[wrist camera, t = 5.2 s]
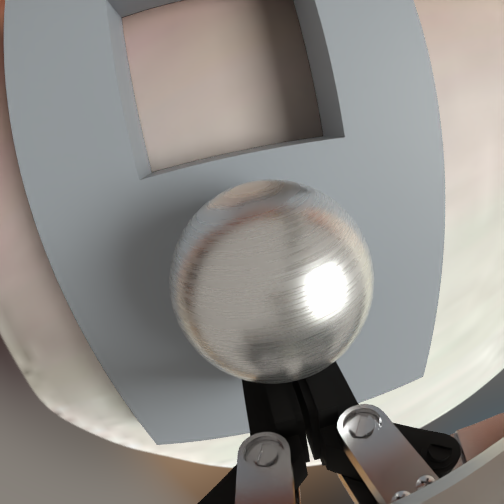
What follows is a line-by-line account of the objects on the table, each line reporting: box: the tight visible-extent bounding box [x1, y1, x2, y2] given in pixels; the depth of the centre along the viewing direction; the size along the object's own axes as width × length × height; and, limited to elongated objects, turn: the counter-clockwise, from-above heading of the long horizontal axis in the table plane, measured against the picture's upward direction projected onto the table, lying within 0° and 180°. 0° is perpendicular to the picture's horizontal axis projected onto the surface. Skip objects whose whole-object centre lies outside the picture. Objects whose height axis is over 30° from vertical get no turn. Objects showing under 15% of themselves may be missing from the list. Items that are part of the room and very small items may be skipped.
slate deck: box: [4, 0, 445, 445], centre depth 10 cm, size 22×15×2 cm
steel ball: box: [169, 179, 374, 384], centre depth 8 cm, size 5×5×5 cm
